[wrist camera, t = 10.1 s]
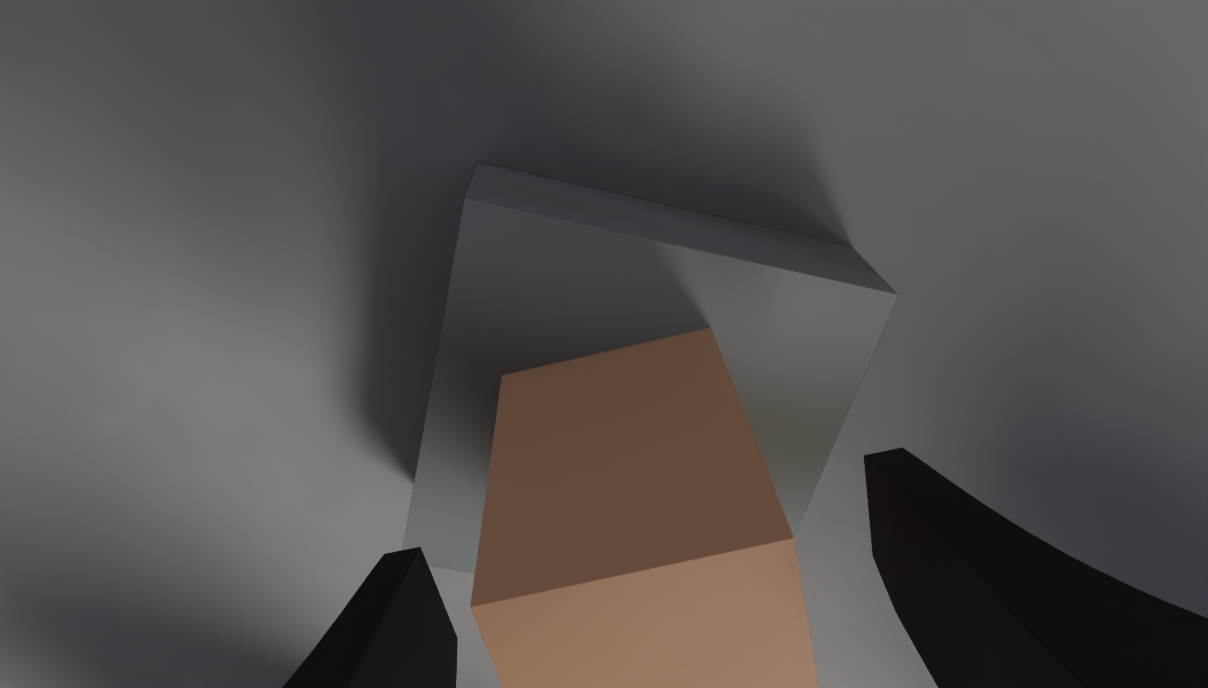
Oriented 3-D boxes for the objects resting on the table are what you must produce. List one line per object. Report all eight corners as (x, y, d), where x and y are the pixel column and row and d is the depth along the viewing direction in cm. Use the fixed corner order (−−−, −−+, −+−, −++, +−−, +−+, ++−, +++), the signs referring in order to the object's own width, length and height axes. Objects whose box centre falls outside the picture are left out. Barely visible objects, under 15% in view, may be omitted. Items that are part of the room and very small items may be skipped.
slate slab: (734, 530, 21) (759, 617, 18) (421, 477, 20) (400, 561, 17) (846, 241, 18) (898, 294, 15) (479, 156, 17) (464, 198, 14)
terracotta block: (710, 327, 15) (794, 538, 10) (743, 498, 17) (830, 756, 11) (501, 375, 15) (470, 607, 10) (555, 539, 17) (553, 812, 12)
